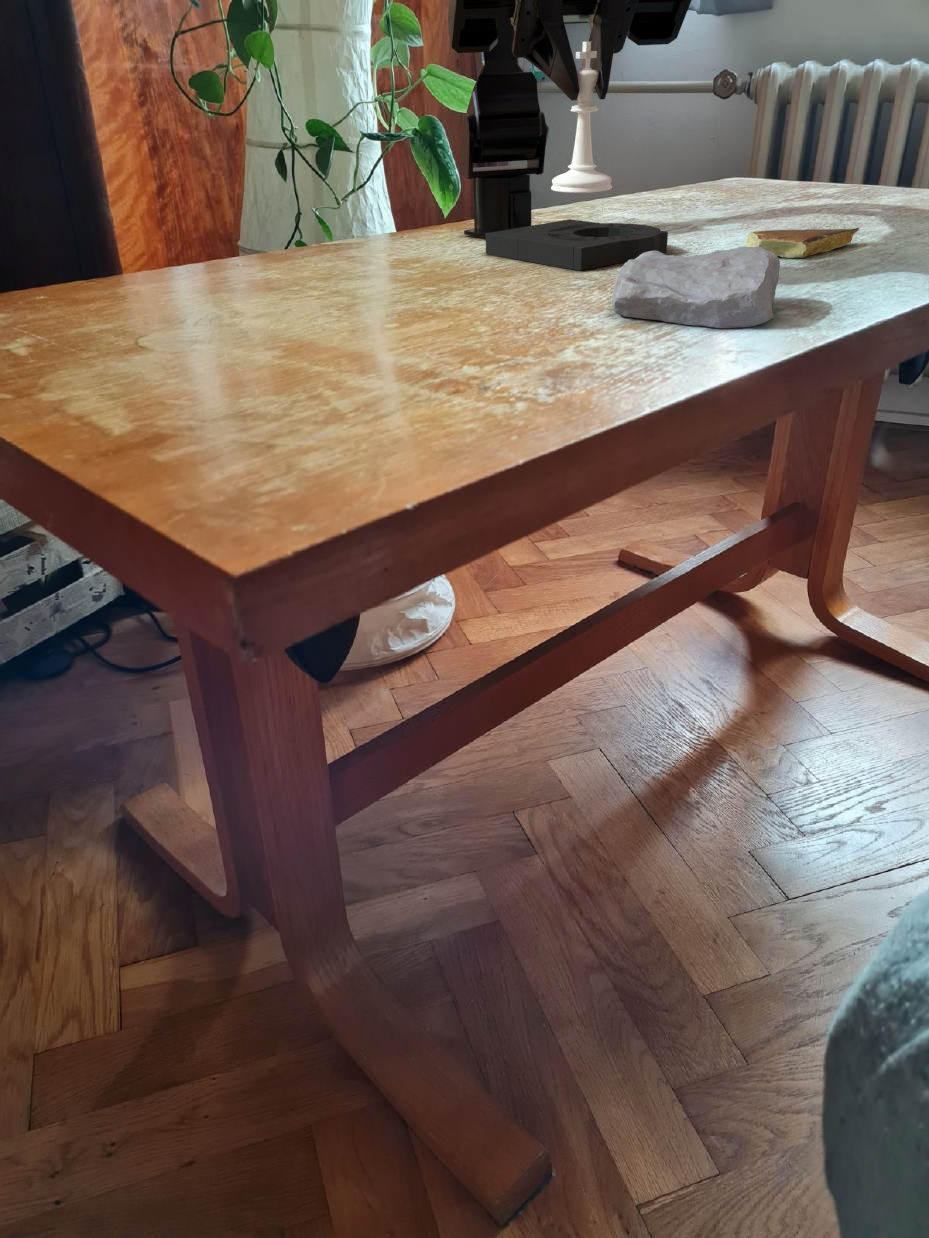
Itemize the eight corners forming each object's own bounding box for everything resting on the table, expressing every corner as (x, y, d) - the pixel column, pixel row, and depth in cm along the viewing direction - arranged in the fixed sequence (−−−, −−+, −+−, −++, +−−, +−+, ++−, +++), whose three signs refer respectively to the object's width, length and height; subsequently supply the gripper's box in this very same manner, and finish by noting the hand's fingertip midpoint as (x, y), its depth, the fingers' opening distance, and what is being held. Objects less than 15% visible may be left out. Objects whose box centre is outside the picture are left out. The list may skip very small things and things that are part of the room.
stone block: (768, 354, 63) (778, 295, 70) (774, 288, 60) (784, 232, 67) (602, 352, 67) (627, 296, 74) (600, 289, 64) (626, 236, 70)
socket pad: (485, 254, 92) (485, 233, 91) (580, 236, 99) (580, 217, 98) (586, 272, 82) (587, 249, 81) (683, 251, 89) (685, 230, 88)
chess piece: (538, 189, 72) (540, 43, 67) (584, 183, 75) (590, 41, 69) (577, 195, 69) (582, 42, 64) (624, 188, 71) (634, 40, 66)
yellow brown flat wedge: (855, 244, 89) (859, 224, 88) (877, 258, 82) (881, 237, 81) (744, 246, 90) (747, 227, 89) (757, 260, 84) (760, 240, 83)
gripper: (447, -182, 61) (481, 5, 58) (703, -184, 64) (749, -4, 60) (436, -32, 72) (464, 133, 69) (655, -38, 74) (692, 120, 71)
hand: (589, 95), depth 67 cm, fingers closed on chess piece
